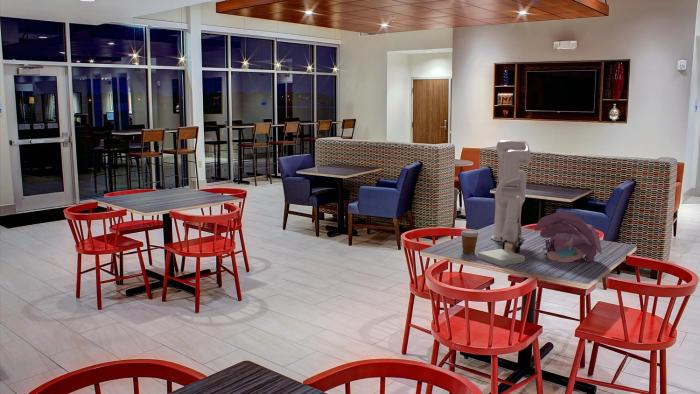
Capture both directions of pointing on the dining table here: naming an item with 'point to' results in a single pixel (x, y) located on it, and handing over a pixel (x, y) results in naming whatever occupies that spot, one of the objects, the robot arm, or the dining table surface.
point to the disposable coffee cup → (469, 241)
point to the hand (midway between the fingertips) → (511, 251)
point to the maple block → (510, 247)
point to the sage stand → (501, 257)
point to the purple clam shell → (568, 237)
